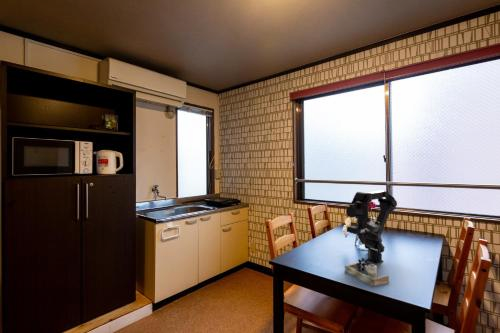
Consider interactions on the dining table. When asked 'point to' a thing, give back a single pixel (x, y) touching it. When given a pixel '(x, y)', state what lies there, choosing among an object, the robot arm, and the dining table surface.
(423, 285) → the dining table surface
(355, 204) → the robot arm
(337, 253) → the dining table surface
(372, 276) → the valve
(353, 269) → the carrier nest
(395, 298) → the dining table surface
